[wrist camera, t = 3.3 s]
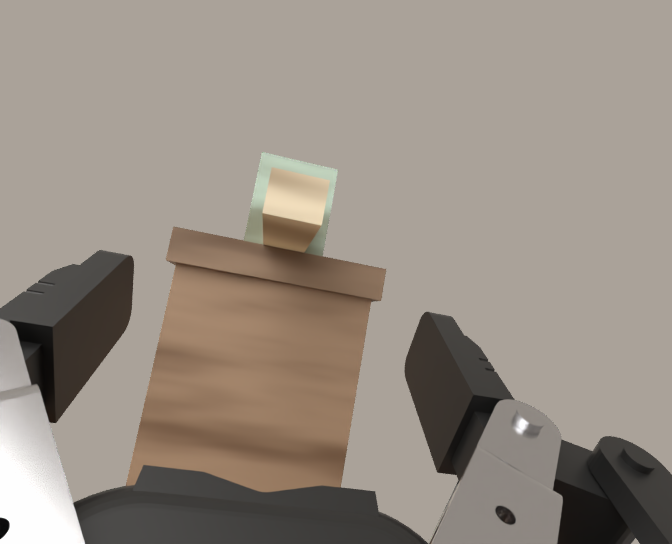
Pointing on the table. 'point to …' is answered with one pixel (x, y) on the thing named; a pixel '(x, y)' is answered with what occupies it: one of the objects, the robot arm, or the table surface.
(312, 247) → the mint and tan block
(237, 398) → the tool tower
